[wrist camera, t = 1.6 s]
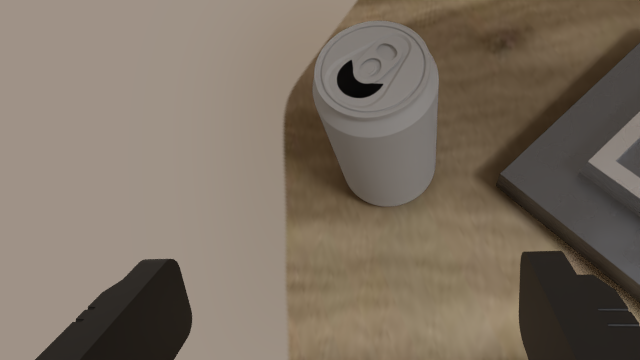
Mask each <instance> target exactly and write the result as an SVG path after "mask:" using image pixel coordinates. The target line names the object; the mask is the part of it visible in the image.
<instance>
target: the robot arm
mask: <svg viewBox="0 0 640 360" xmlns="http://www.w3.org/2000/svg"><path fill="white" fill-rule="evenodd" d="M191 325H192V312H191V308H190V304H189V300H188V297H187V293H186V289H185V285H184V282H183V278H182V274H181V271H180V267H179V265H178V263H177V262H176V261H175V260H174V259H148V260H142V261H141V262H139V263H138V265H136V266H135V267H134V268H133V270H132V271H131V272H130V273H129V274H128V275H127V276H126V277H125V278H124V279H123V280H121V281H120V282H118V283H117V284H115V285H114V286H112V287H110V288H109V289H107V290H106V291H104V292H102V293H101V294H100V295H99V297H97V299H95V300H94V301H93V302H92V303H91V304H90V305H89V306H88V310H84V311H83V312H82V313H81V314H80V315H79V316H78V318H76V322H72V323H71V324H70V326H69V327H67V328H66V329H65V330H64V332H62V334H60V335H59V336H58V337H57V338H56V340H54V342H52V343H51V344H50V345H49V346H48V347H47V349H46V350H45V351H43V352H42V353H41V354H40V355H39V356H38V357H37V358H36V359H35V360H174V359H175V357H176V355H177V354H178V352H179V350H180V349H181V347H182V346H183V344H184V342H185V341H186V339H187V338H188V335H189V333H190V329H191ZM519 325H520V332H521V337H522V341H523V344H524V347H525V350H526V353H527V356H528V359H529V360H640V326H639V323H638V321H637V320H636V318H635V317H634V316H633V314H632V313H631V312H629V311H628V307H627V306H626V304H625V303H624V302H623V300H622V299H621V297H620V296H619V295H618V293H617V292H616V290H615V289H613V288H612V287H610V286H609V285H607V284H606V283H604V282H603V281H601V280H600V279H598V278H597V277H596V276H594V275H577V274H576V272H575V271H574V269H573V268H572V266H571V264H570V263H569V261H568V259H567V258H566V256H565V255H564V253H563V252H562V251H538V252H523V253H522V256H521V264H520V292H519Z"/></svg>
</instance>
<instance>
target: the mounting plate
mask: <svg viewBox="0 0 640 360" xmlns="http://www.w3.org/2000/svg"><path fill="white" fill-rule="evenodd" d="M496 186H497V187H498V188H500V189H501V190H502V191H503V192H505V193H506V194H507V195H508V196H509V197H511V198H512V199H513V200H514V201H516V202H517V203H518V204H519V205H520V206H522V207H523V208H524V209H525V210H527V211H528V212H529V213H530V214H532V215H533V216H534V217H535V218H536V219H538V220H539V221H540V222H541V223H543V224H544V225H545V226H546V227H547V228H549V229H550V230H551V231H552V232H554V233H555V234H556V235H557V236H558V237H560V238H561V239H562V240H563V241H565V242H566V243H567V244H568V245H570V246H571V247H572V248H573V249H574V250H576V251H577V252H578V253H579V254H581V255H582V256H583V257H584V258H585V259H587V260H588V261H589V262H590V263H592V264H593V265H594V266H595V267H596V268H598V269H599V270H600V271H601V272H603V273H604V274H605V275H606V276H608V277H609V278H610V279H611V280H612V281H614V282H615V283H616V284H617V285H619V286H620V287H621V288H622V289H623V290H625V291H626V292H627V293H628V294H630V295H631V296H632V297H633V298H634V299H636V300H637V301H638V302H639V303H640V43H639V44H638V45H637V46H636V47H635V48H634V49H633V50H632V51H630V52H629V53H628V54H627V55H626V56H625V57H624V58H623V59H622V60H621V61H620V62H619V63H618V64H617V65H616V66H614V67H613V68H612V69H611V70H610V71H609V72H608V73H607V74H606V75H605V76H604V77H603V78H602V79H601V80H600V81H598V82H597V83H596V84H595V85H594V86H593V87H592V88H591V89H590V90H589V91H588V92H587V93H586V94H585V95H584V96H582V97H581V98H580V99H579V100H578V101H577V102H576V103H575V104H574V105H573V106H572V107H571V108H570V109H569V110H568V111H566V112H565V113H564V114H563V115H562V116H561V117H560V118H559V119H558V120H557V121H556V122H555V123H554V124H553V125H552V126H550V127H549V128H548V129H547V130H546V131H545V132H544V133H543V134H542V135H541V136H540V137H539V138H538V139H537V140H536V141H534V142H533V143H532V144H531V145H530V146H529V147H528V148H527V149H526V150H525V151H524V152H523V153H522V154H521V155H520V156H518V157H517V158H516V159H515V160H514V161H513V162H512V163H511V164H510V165H509V166H508V167H507V168H506V169H505V170H504V171H502V172H501V173H500V176H499V179H498V181H497V184H496Z"/></svg>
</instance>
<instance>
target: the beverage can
mask: <svg viewBox="0 0 640 360" xmlns="http://www.w3.org/2000/svg"><path fill="white" fill-rule="evenodd" d="M438 87H439V75H438V69H437V66H436V63H435V61H434V59H433V57H432V55H431V54H430V52H429V50H428V48H427V45H426V44H425V42H424V41H423V39H422V38H421V37H420V36H419V35H418V34H417V33H416V32H414V31H413V30H412V29H410V28H408V27H406V26H404V25H401V24H398V23H395V22H390V21H369V22H363V23H359V24H356V25H353V26H351V27H349V28H347V29H345V30H343V31H341V32H340V33H338V34H337V35H335V36H334V37H333V38H332V39H331V40H330V41H329V42H328V43H327V44H326V45H325V46H324V48H323V49H322V51H321V52H320V54H319V56H318V58H317V61H316V65H315V70H314V80H313V90H312V92H313V98H314V102H315V105H316V108H317V111H318V113H319V116H320V118H321V121H322V123H323V125H324V128H325V130H326V133H327V135H328V138H329V140H330V143H331V145H332V148H333V150H334V152H335V155H336V157H337V160H338V162H339V165H340V167H341V170H342V172H343V175H344V177H345V179H346V182H347V184H348V185H349V187H350V189H351V190H352V191H353V192H354V193H355V194H356V195H357V196H358V197H359V198H361V199H362V200H364V201H366V202H368V203H370V204H374V205H378V206H386V207H389V206H398V205H402V204H405V203H408V202H410V201H412V200H413V199H415V198H417V197H418V196H419V195H420V194H422V193H423V192H424V191H425V189H426V188H427V187H428V185H429V184H430V182H431V180H432V178H433V175H434V172H435V164H436V138H437V113H438Z"/></svg>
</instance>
